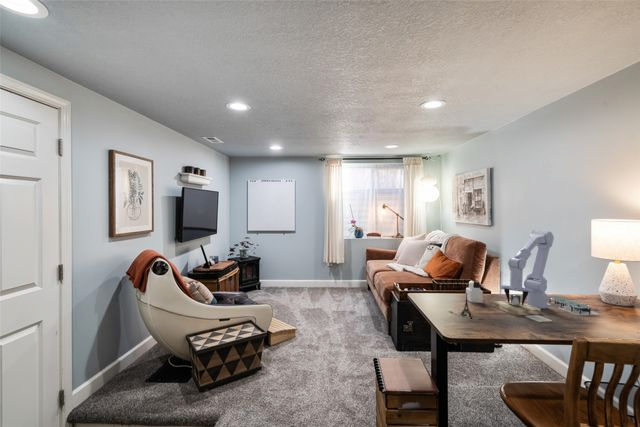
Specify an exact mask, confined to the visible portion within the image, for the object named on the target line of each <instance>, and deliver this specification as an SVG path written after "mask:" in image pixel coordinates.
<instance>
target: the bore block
mask: <svg viewBox="0 0 640 427" xmlns="http://www.w3.org/2000/svg"><path fill="white" fill-rule="evenodd" d="M491 306H492V307H494V308H496V309H498V310H501V311H504V312H506V313H508V314H510V315H513V316H530V315H541V309H538V308H535V307H533V306H530V305H527V303H524V305H522V301H520V307H514V306H511V300H510V302H509V303H508V300H500V301H496V300H495V301H492V302H491Z"/></svg>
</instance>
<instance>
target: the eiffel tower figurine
mask: <svg viewBox="0 0 640 427" xmlns="http://www.w3.org/2000/svg"><path fill="white" fill-rule="evenodd" d="M448 313H451V314H452V315H455V316H457V317H459V318H462V319H464V320H467V319H468V317H465V316H467V314H469V316H470V318H471V317H472V318H473V314H472V312H471V311H470V308H469V304H468V300H467V293H466V292H465V304H464V308H463V310H462V311H461V312H460V314H455V313H454V311H453V310H452V311H451V310H449V311H448ZM471 315H472V316H471Z"/></svg>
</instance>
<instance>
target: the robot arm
mask: <svg viewBox="0 0 640 427" xmlns="http://www.w3.org/2000/svg"><path fill="white" fill-rule="evenodd" d="M554 237H555V236H554V234H553V233H552V232H551V231H543V230H542V231H541V230H532V231H531V232H530V234H529V240H527V243H526V244H525V246H524V247H523V248H520V249H519V250H518V251H517V253H516V254H515V255H514V256H513V257H510V258H509V259H508V262H507V265H508V268H509V271H510V274H509V275H510V279H509V285H506V284H505V285H504V284H501V285H500V289H501V290H504V294H505V296H506V298H507V301H508V303H509V302H510V301H511V298H510V291H515V292H522V296H521V297H522V299H521V302H522V305H524V304H525V301H526V304H527V305H530V306H533V307H535V308H538V309H549V306H548V305H547V303H548V294H547V293H546V291H547V289H548V280H547V279H546V278H545V277H544V272H545V269H546V264H547V261H548V258H549V253H550V248H551V247H553V243H554V239H555V238H554ZM535 247H537V248H538V249H537V252H536V256H535V258H534V259H535V261H534V264H533V268H532V273H530V274H527V275H526V278H525V279H524V281H523V276H524V275H523V274H524V273H523V272H524V269H525V268H526V265H527V262H528V259H529V258H530V257H531V255H532V253H531V252H532V250H533V249H535Z"/></svg>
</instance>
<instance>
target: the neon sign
mask: <svg viewBox="0 0 640 427" xmlns="http://www.w3.org/2000/svg"><path fill="white" fill-rule="evenodd" d="M548 298H549V301H548V302H547V306H550V305H551V303H552V301H554V303H555V304H561V306H560V305H559V308H558V309H559V310H562V311H565V312H568V313H571V314H573V315H578V316H595V315H596V316H597V315H600V313H599V312H597V309H595V308H592V306H590V305H587V304H584V303H580V302H577V301H573V300H570V299H569V300H568V298H562V297H548ZM564 303H565V304H564ZM566 303H568V304H566ZM555 304H554V305H555ZM562 305H563V306H562ZM564 305H566V306H564ZM567 305H568V306H567ZM592 309H593V310H594V311H593V310H592ZM607 310H611V308H607V309H606V311H607Z"/></svg>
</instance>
